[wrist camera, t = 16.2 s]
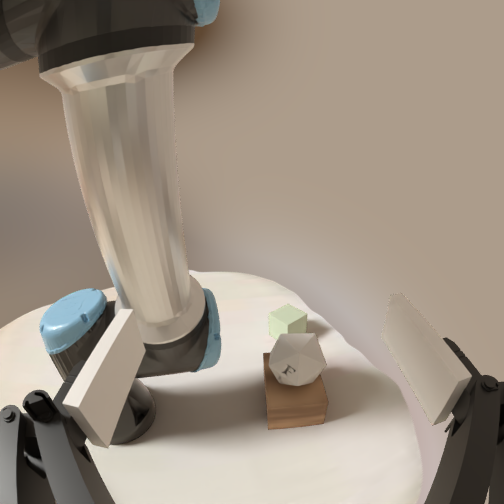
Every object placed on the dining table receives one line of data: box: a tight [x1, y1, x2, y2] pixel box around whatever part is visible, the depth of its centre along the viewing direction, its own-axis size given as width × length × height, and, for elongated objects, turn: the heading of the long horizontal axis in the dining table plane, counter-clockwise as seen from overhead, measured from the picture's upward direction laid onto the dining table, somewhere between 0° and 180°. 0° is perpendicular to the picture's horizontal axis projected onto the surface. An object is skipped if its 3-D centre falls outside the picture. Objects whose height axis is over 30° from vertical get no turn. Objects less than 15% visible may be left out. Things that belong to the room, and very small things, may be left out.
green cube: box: [269, 304, 307, 340], centre depth 62 cm, size 6×6×6 cm
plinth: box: [263, 353, 328, 430], centre depth 44 cm, size 13×9×6 cm
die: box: [269, 333, 327, 386], centre depth 41 cm, size 8×9×10 cm
